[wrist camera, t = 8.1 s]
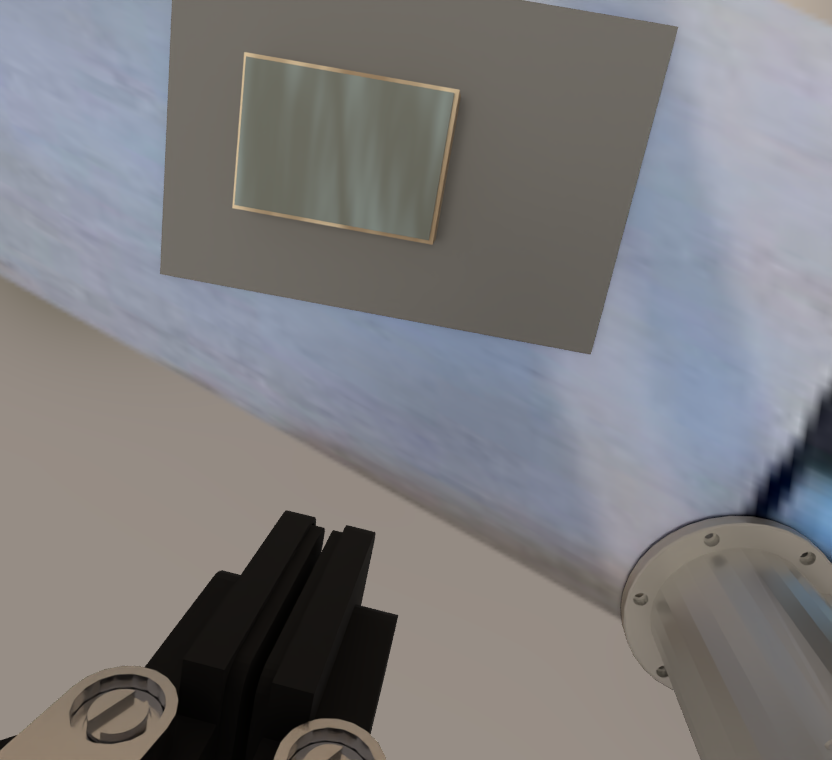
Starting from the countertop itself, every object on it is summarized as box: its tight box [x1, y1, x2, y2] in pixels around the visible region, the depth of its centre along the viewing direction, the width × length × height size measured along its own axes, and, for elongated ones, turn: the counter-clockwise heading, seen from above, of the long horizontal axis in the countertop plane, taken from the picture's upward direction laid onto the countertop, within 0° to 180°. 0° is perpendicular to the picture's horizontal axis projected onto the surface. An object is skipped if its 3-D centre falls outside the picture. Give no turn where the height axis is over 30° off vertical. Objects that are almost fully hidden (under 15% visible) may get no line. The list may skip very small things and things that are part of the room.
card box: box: [232, 52, 461, 245], centre depth 31 cm, size 3×7×10 cm
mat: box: [160, 0, 678, 354], centre depth 33 cm, size 24×16×1 cm, turn 80°
